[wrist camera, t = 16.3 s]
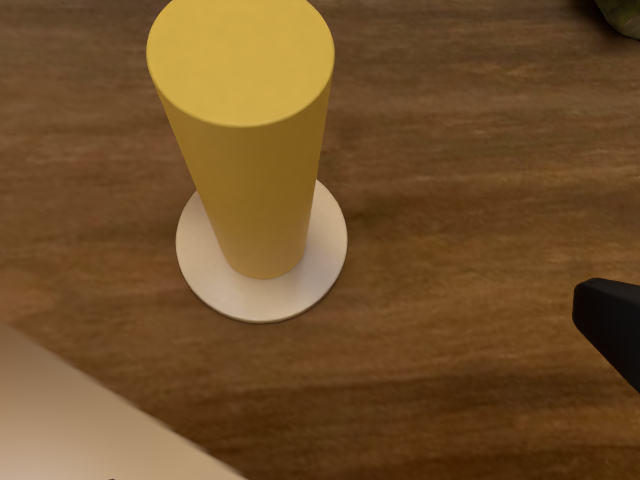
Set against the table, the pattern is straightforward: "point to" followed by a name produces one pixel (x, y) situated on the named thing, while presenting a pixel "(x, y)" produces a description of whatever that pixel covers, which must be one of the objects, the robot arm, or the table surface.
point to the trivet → (262, 294)
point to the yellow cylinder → (247, 118)
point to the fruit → (622, 16)
